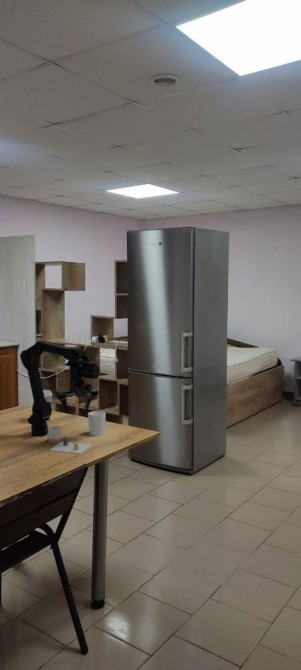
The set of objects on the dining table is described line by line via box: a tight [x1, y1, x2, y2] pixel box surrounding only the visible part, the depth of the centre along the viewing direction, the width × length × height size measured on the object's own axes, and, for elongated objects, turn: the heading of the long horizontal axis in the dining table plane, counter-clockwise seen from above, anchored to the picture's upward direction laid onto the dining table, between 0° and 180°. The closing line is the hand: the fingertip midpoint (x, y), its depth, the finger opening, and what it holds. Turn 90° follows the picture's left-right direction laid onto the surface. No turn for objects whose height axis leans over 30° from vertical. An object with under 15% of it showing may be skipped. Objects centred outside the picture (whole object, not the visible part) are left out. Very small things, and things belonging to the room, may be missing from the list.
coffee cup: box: [43, 389, 54, 423], centre depth 253 cm, size 10×10×15 cm
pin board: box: [48, 437, 93, 455], centre depth 208 cm, size 14×11×4 cm
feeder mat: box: [42, 437, 64, 445], centre depth 219 cm, size 8×8×1 cm
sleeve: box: [47, 425, 63, 443], centre depth 218 cm, size 4×4×6 cm
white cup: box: [87, 410, 107, 437], centre depth 228 cm, size 8×8×10 cm
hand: (76, 412), depth 218 cm, fingers open, 9 cm apart
